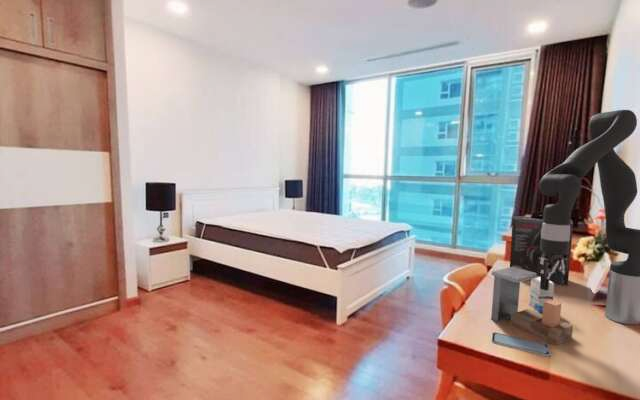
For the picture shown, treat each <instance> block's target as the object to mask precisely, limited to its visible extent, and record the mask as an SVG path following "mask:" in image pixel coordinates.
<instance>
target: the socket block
mask: <svg viewBox="0 0 640 400" xmlns="http://www.w3.org/2000/svg"><path fill="white" fill-rule="evenodd" d="M542 314H543V313H541V312H538V311H535V310H531V309H528V308H526V309H522V310H520V311H518V312H517V313H514V314H511V317H510V321H509V322H510V323H509V326H510V327H512V328H514V329H516V330H519V331H522V332H523V333H526V334H529V335H531V336H533V337H535V338H538V339H539V340H540V339H541V340H542V341H545V342H547V343H549V344H552V345H555V346H557V345H559V344H561V343H562V342H563V343H564V342H566V341H567V340H569V339H571V338H573V331H574V330H573V329H574V325H573V324H570V323H567V322H565V321H562V320H560V323H559V325H557V326H555V327H553V328H552V327H549V326H547V325H544V324H542Z"/></svg>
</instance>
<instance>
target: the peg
mask: <svg viewBox="0 0 640 400" xmlns="http://www.w3.org/2000/svg"><path fill="white" fill-rule="evenodd" d="M561 310H562V303H561V302H558V301H556V300H553V301H552V300H547V301H544V303H543V313H541V314H542V324H544V325H547V326H549V327H552V328H553V327H555V326H557V325H559V323H560V321H561Z"/></svg>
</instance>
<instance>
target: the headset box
mask: <svg viewBox="0 0 640 400" xmlns="http://www.w3.org/2000/svg"><path fill="white" fill-rule="evenodd" d="M543 214H544V211H532V213H531V215H530V216H521V215H515V216H513V218H512V222H511V237H510V238H511V239H510V240H511V241H510V242H511V243H510V254H509V255H510V257H509V268H510V267H516V268H520V269H523V270H527V271H531V272H534V273H537V264H538V258H539V257H540V258H544V255H545V253H544V252H542V251H541V250H540V242H541V229H542V225H543ZM573 229H574V225H573V220H572V219H571V220H570V231H571V232H570V245H569V253H568V255H569V257H568V271H567V272H566V271H565V274H563V284H562V286H568V285H569V277H570V262H571V252H572V251H571V250H572V241H573ZM564 266H565V265H564ZM540 272H541V269H540ZM547 273H548V272H547ZM555 273H556V272H555V271H554V273H552V274H551V276H550V278H549V280H550V281H551V282H553V283H554V275H555Z"/></svg>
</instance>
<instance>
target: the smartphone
mask: <svg viewBox="0 0 640 400" xmlns="http://www.w3.org/2000/svg"><path fill="white" fill-rule="evenodd" d="M490 341H491V343H493V344H495V343H496V345H499V344H500V345H499V346H503V345H504V347H507V346H509V347H508V348H511V347H512V348H513V349H515V348H517V349H516V350H519V349H520V351H523V352H528V353H532V354H536V355H539V356H543V357H550V356H551V352H550V347H549V345H548V344H547V343H544V342H540V341H535V340H531V339H527V338H523V337H522V338H521V337H517V336H512V335H509V334H504V333H500V332H492V334H491V340H490ZM512 348H511V349H512Z"/></svg>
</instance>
